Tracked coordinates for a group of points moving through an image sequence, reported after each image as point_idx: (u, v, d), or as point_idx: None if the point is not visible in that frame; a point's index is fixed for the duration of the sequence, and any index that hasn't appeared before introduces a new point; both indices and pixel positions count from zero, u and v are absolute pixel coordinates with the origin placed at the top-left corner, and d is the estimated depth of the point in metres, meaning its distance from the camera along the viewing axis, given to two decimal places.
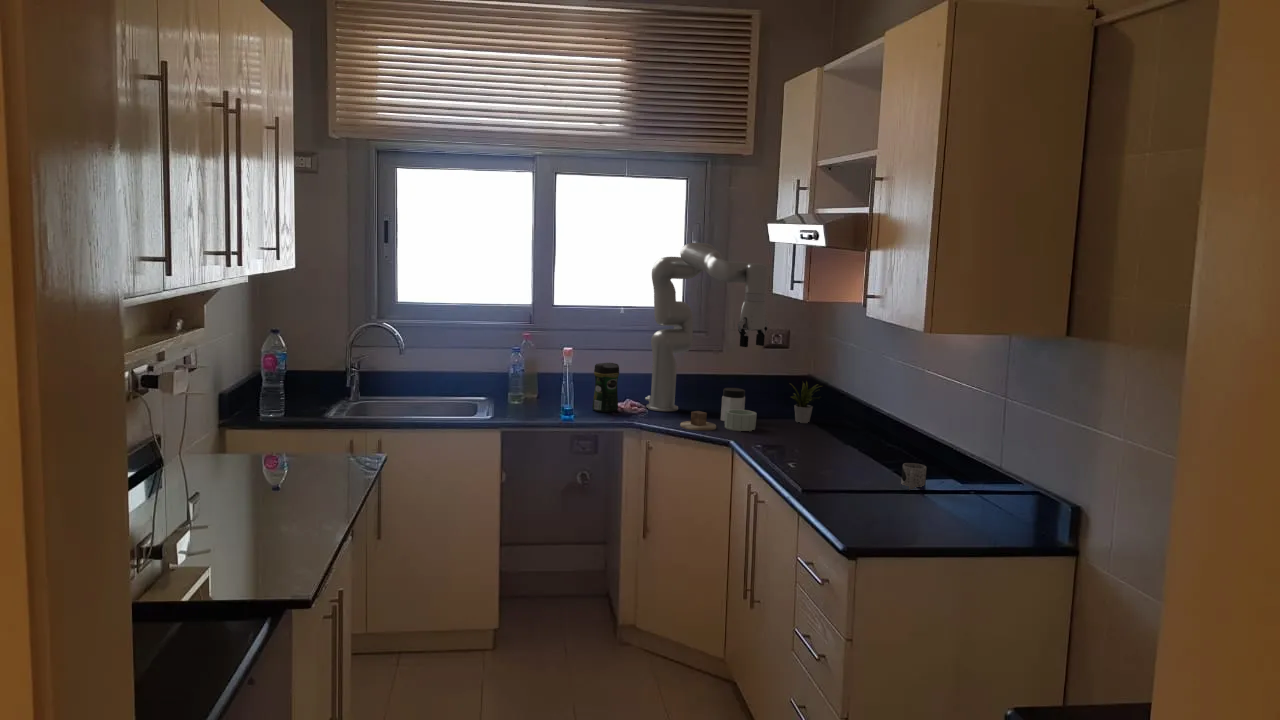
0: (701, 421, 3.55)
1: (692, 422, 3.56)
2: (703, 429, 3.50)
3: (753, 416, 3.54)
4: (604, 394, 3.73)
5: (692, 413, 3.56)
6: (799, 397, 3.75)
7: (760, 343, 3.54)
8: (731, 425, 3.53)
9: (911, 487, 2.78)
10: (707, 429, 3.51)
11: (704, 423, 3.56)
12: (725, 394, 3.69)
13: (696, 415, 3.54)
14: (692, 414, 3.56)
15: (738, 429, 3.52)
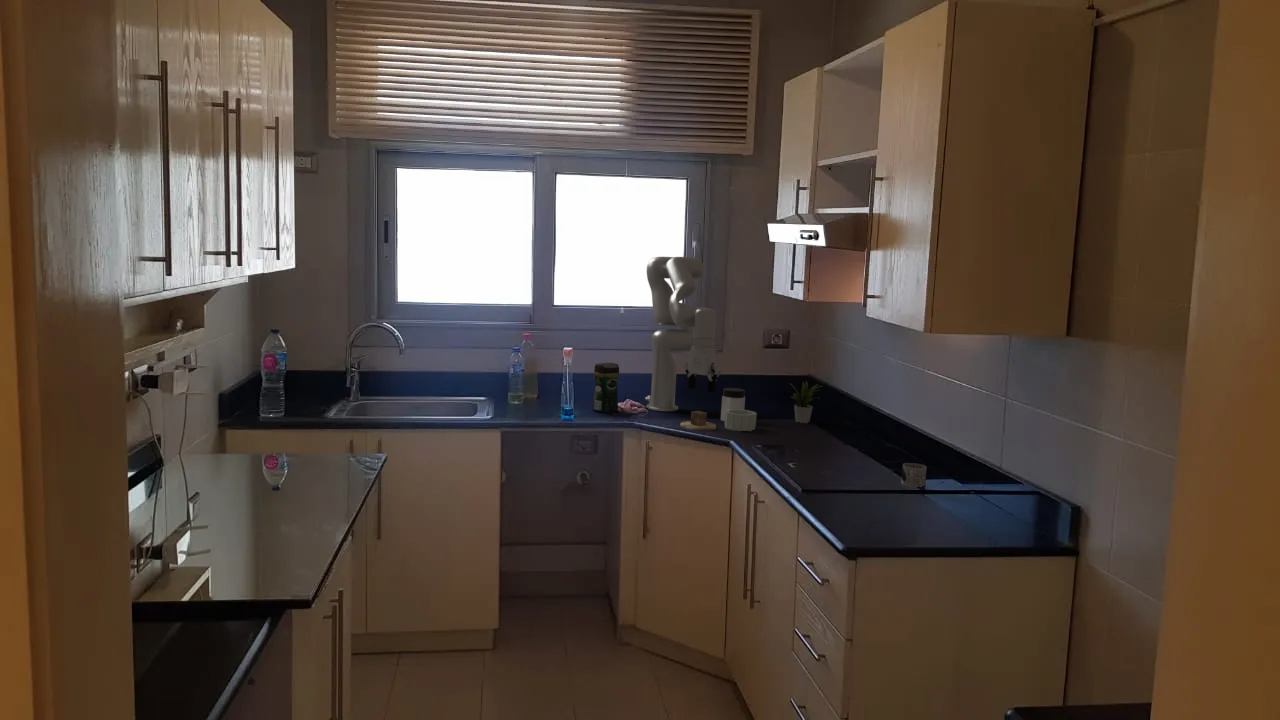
0: (701, 421, 3.55)
1: (692, 422, 3.56)
2: (703, 429, 3.50)
3: (753, 416, 3.54)
4: (604, 394, 3.73)
5: (692, 413, 3.56)
6: (799, 397, 3.75)
7: (693, 386, 3.58)
8: (731, 425, 3.53)
9: (911, 487, 2.78)
10: (707, 429, 3.51)
11: (704, 423, 3.56)
12: (725, 394, 3.68)
13: (696, 414, 3.54)
14: (692, 414, 3.56)
15: (738, 429, 3.52)
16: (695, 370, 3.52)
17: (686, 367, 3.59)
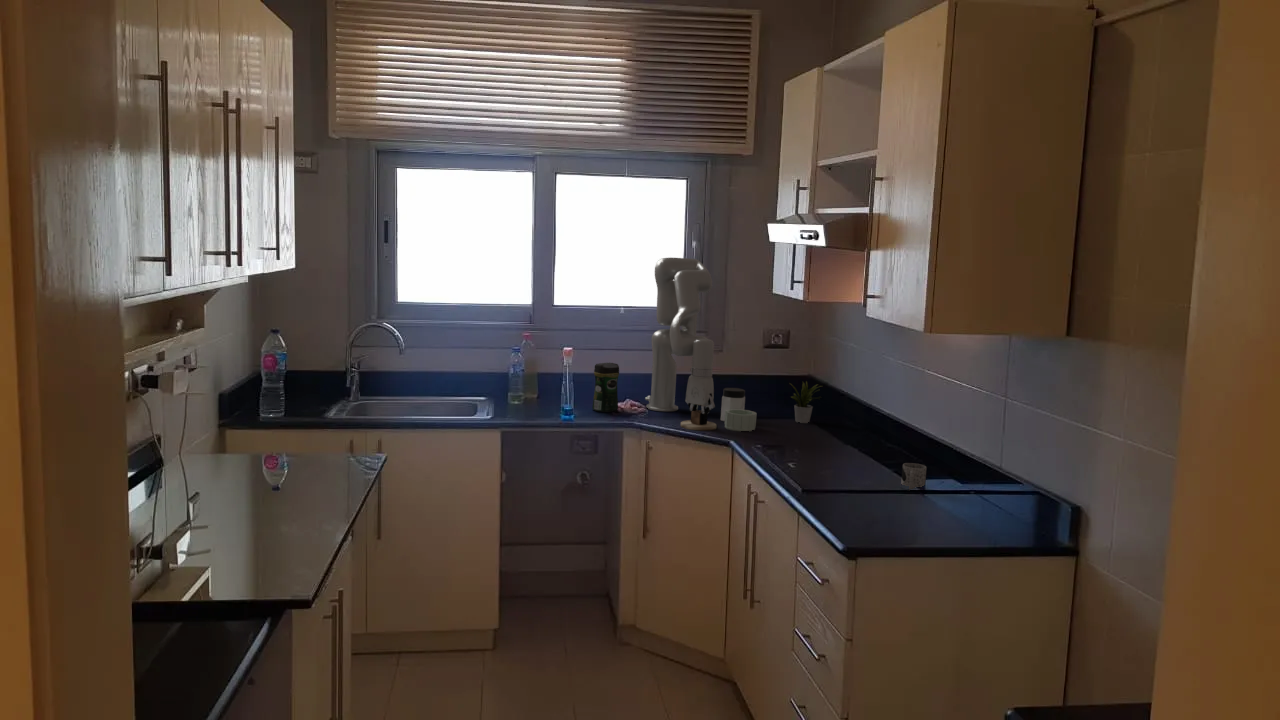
0: None
1: (692, 421, 3.56)
2: (703, 428, 3.50)
3: (753, 416, 3.54)
4: (604, 394, 3.73)
5: (692, 412, 3.56)
6: (799, 397, 3.75)
7: None
8: (731, 425, 3.53)
9: (911, 487, 2.78)
10: (707, 428, 3.51)
11: None
12: (725, 394, 3.68)
13: (696, 414, 3.54)
14: (692, 413, 3.56)
15: (738, 429, 3.52)
16: (693, 400, 3.54)
17: (687, 401, 3.59)
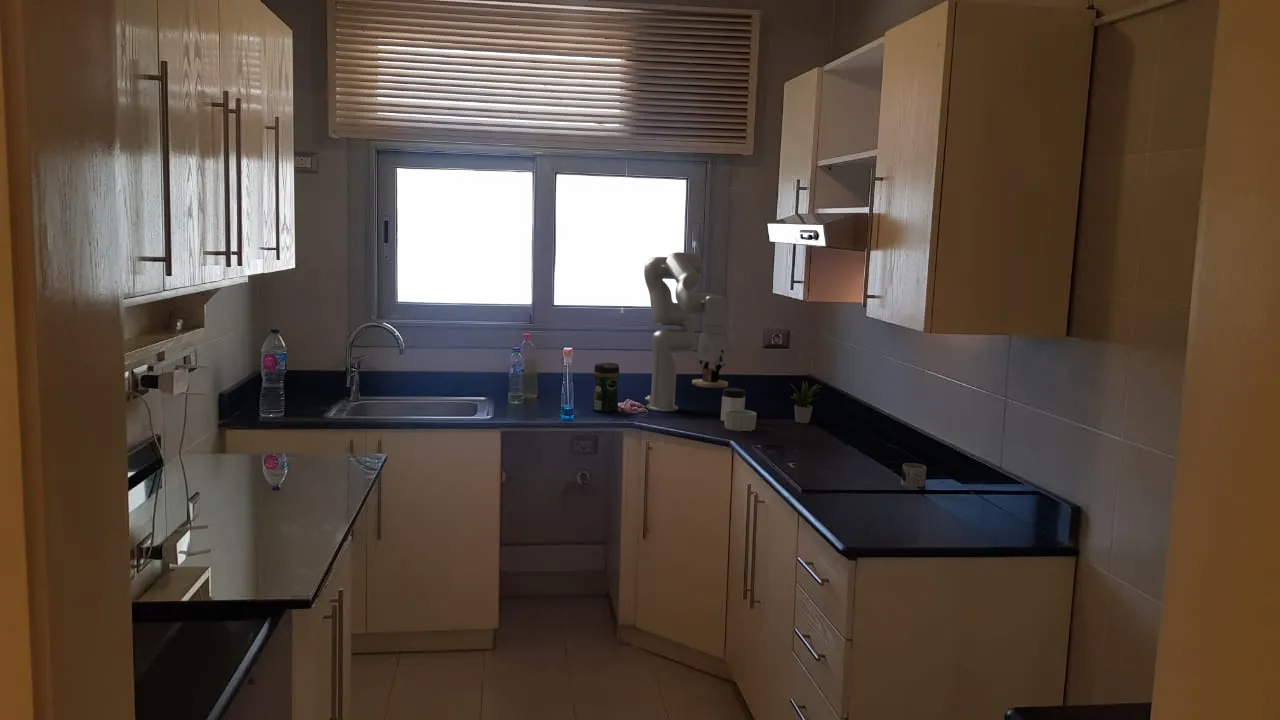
0: None
1: (704, 379, 3.54)
2: (715, 385, 3.48)
3: (753, 416, 3.54)
4: (604, 394, 3.73)
5: (704, 370, 3.54)
6: (799, 397, 3.75)
7: None
8: (731, 425, 3.53)
9: (911, 487, 2.78)
10: (719, 385, 3.49)
11: None
12: (725, 394, 3.68)
13: (708, 371, 3.52)
14: (704, 371, 3.54)
15: (738, 429, 3.52)
16: (704, 357, 3.52)
17: None
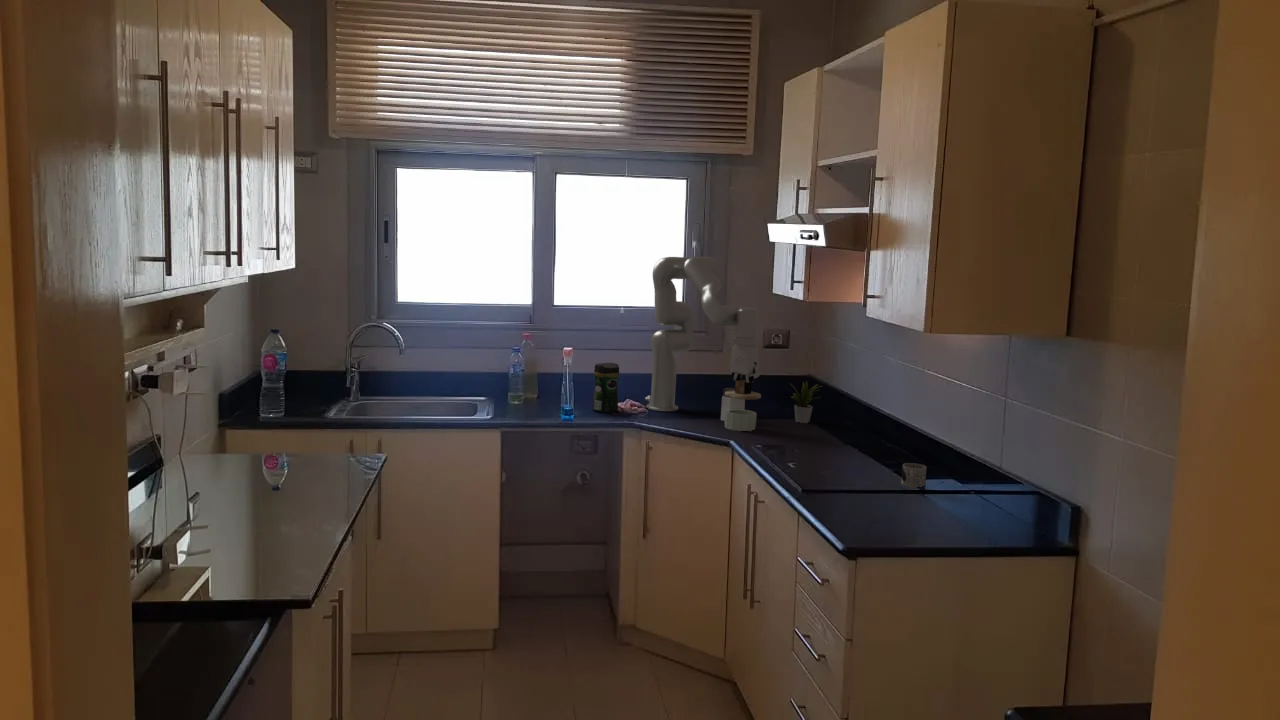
0: None
1: (737, 391, 3.55)
2: (748, 397, 3.50)
3: (753, 416, 3.54)
4: (604, 394, 3.73)
5: (737, 382, 3.55)
6: (799, 397, 3.75)
7: None
8: (731, 425, 3.53)
9: (911, 487, 2.78)
10: (752, 397, 3.50)
11: None
12: None
13: (741, 383, 3.54)
14: (737, 383, 3.55)
15: (738, 429, 3.52)
16: (737, 369, 3.54)
17: (731, 371, 3.59)
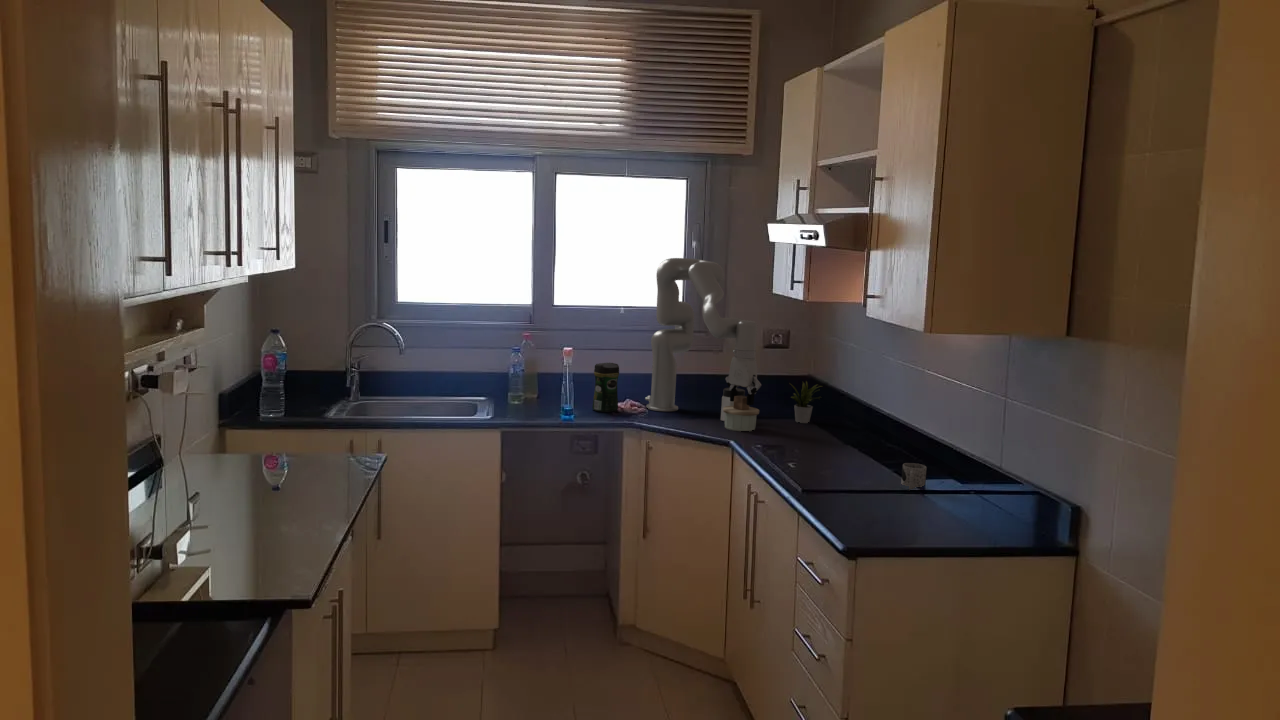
0: (745, 405, 3.55)
1: (735, 406, 3.56)
2: (747, 413, 3.51)
3: (753, 416, 3.54)
4: (604, 394, 3.73)
5: (735, 397, 3.56)
6: (799, 397, 3.75)
7: None
8: (731, 425, 3.53)
9: (911, 487, 2.78)
10: (751, 413, 3.51)
11: (747, 407, 3.56)
12: (725, 394, 3.69)
13: (739, 399, 3.55)
14: (735, 398, 3.56)
15: (738, 429, 3.52)
16: (736, 381, 3.54)
17: (727, 380, 3.60)
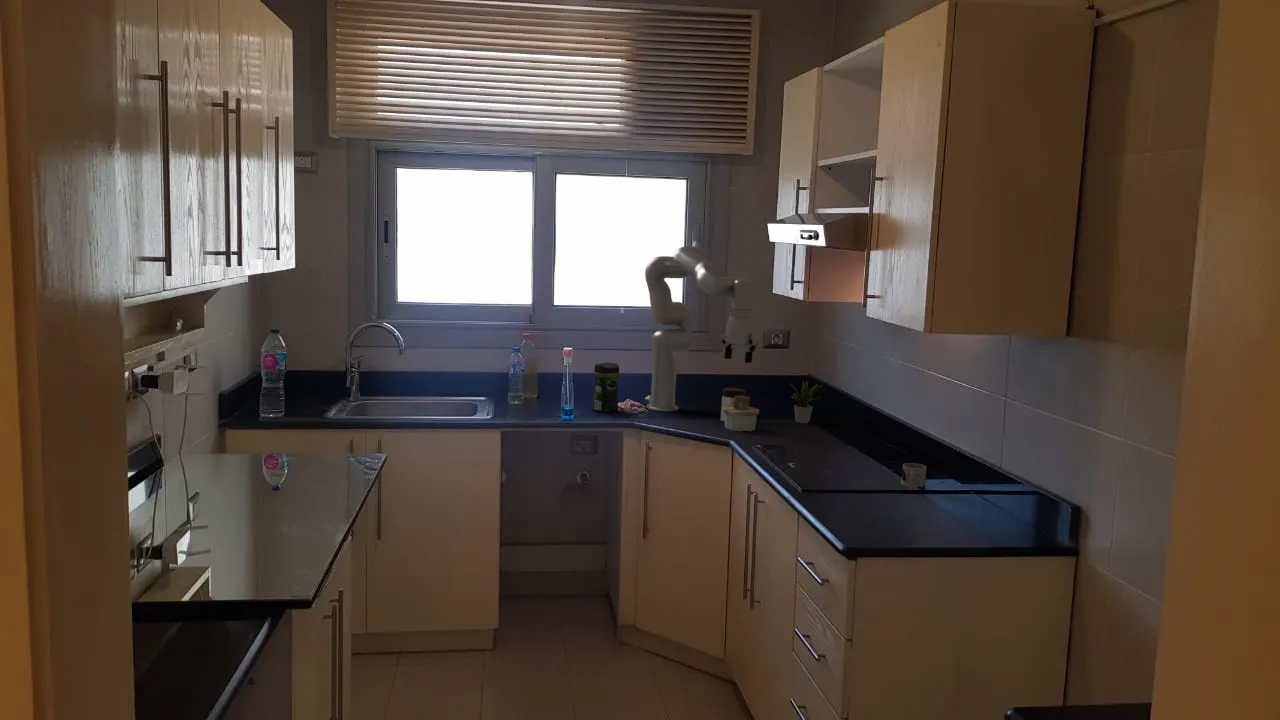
0: (745, 405, 3.55)
1: (735, 406, 3.56)
2: (747, 413, 3.51)
3: (753, 416, 3.54)
4: (604, 394, 3.73)
5: (735, 397, 3.56)
6: (799, 397, 3.75)
7: (729, 356, 3.59)
8: (731, 425, 3.53)
9: (911, 487, 2.78)
10: (751, 413, 3.51)
11: (747, 407, 3.56)
12: (725, 394, 3.69)
13: (739, 399, 3.55)
14: (735, 398, 3.56)
15: (738, 429, 3.52)
16: (732, 340, 3.53)
17: (723, 337, 3.60)
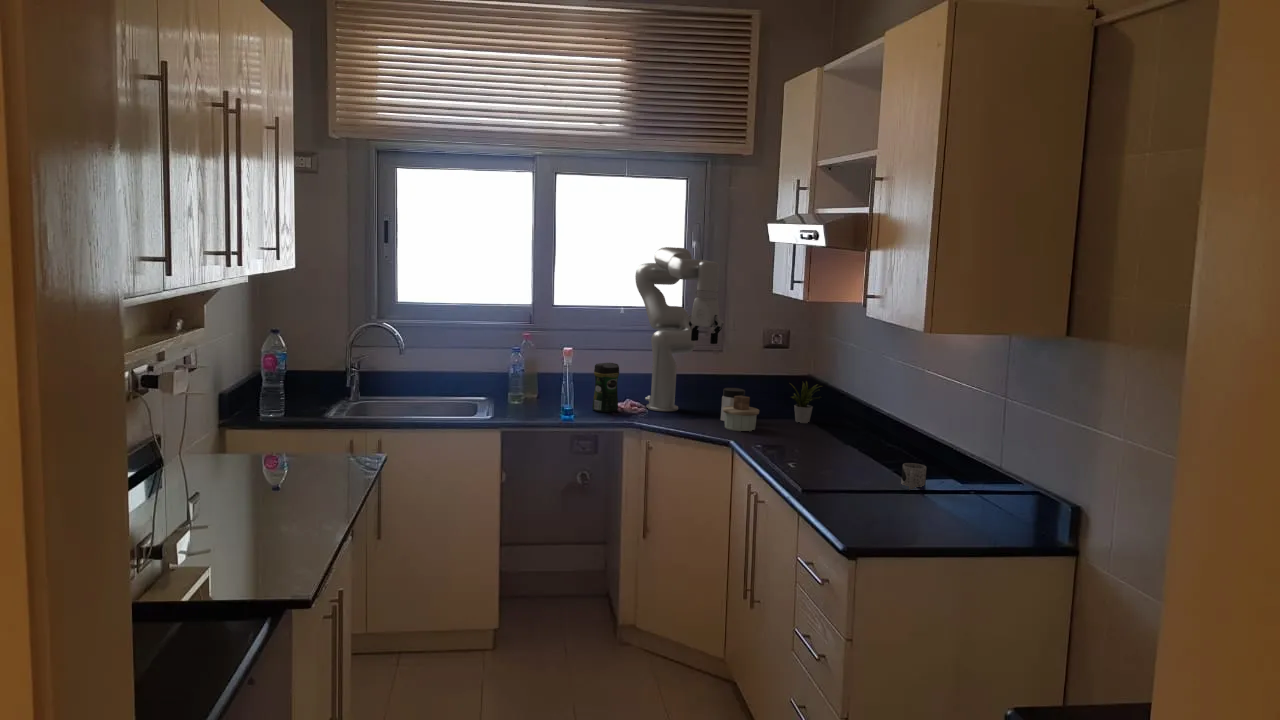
0: (745, 405, 3.55)
1: (735, 406, 3.56)
2: (747, 413, 3.51)
3: (753, 416, 3.54)
4: (604, 394, 3.73)
5: (735, 397, 3.56)
6: (799, 397, 3.75)
7: (696, 338, 3.62)
8: (731, 425, 3.53)
9: (911, 487, 2.78)
10: (751, 413, 3.51)
11: (747, 407, 3.56)
12: (725, 394, 3.68)
13: (739, 399, 3.55)
14: (735, 398, 3.56)
15: (738, 429, 3.52)
16: (698, 322, 3.56)
17: (689, 319, 3.63)
